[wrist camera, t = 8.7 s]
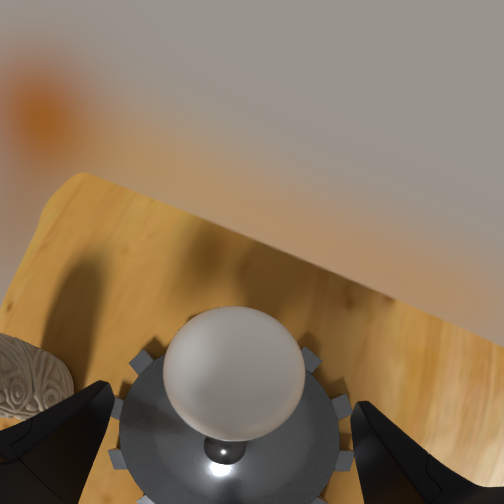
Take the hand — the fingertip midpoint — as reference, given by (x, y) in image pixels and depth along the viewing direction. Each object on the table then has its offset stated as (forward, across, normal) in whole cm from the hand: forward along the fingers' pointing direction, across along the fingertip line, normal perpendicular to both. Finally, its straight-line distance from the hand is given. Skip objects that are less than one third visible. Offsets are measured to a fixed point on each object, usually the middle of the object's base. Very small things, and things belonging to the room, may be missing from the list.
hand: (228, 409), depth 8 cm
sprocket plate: (+6, +1, +12) cm, 13 cm away
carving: (+7, +18, +11) cm, 22 cm away
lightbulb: (+9, 0, +7) cm, 11 cm away
